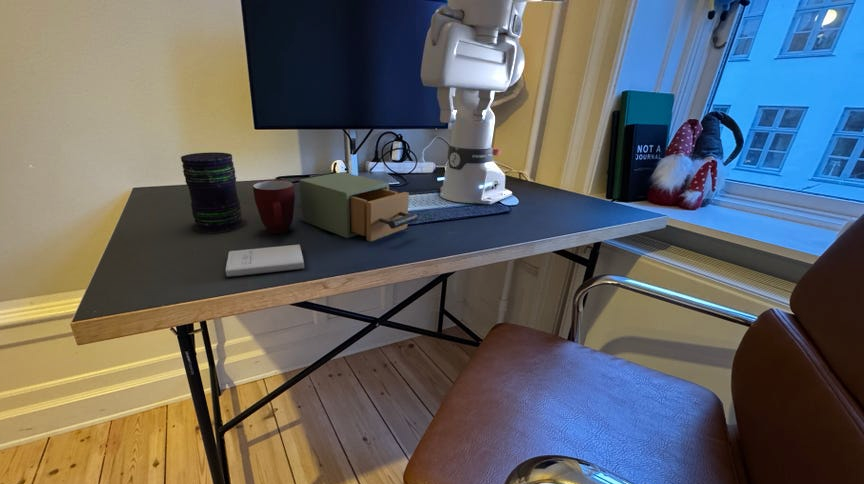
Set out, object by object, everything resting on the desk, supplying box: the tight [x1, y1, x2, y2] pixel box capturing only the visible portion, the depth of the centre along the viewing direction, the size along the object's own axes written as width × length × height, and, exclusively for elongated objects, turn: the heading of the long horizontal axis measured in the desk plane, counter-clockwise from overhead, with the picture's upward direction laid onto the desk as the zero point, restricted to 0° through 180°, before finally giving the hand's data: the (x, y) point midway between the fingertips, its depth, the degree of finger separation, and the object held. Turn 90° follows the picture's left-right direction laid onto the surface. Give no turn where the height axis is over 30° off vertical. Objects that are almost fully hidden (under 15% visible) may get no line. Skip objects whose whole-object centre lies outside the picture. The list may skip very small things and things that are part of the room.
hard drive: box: [225, 244, 305, 278], centre depth 64 cm, size 2×8×12 cm
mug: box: [252, 180, 296, 235], centre depth 76 cm, size 11×8×10 cm
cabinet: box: [298, 171, 390, 239], centre depth 83 cm, size 16×13×10 cm
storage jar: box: [180, 151, 244, 234], centre depth 78 cm, size 10×10×15 cm
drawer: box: [349, 188, 418, 242], centre depth 77 cm, size 19×11×8 cm, turn 47°
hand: (463, 122), depth 58 cm, fingers open, 8 cm apart
